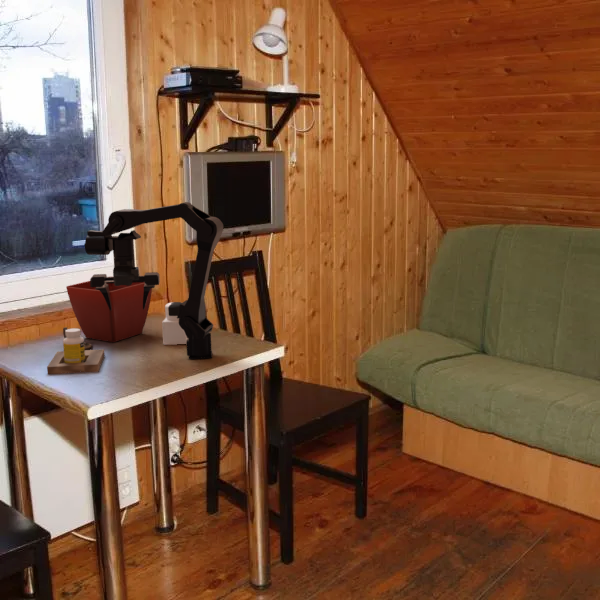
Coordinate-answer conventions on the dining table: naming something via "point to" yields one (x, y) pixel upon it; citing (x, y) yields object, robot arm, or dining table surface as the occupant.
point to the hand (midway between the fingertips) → (127, 309)
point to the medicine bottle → (172, 326)
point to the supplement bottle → (73, 346)
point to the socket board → (90, 365)
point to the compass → (86, 345)
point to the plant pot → (97, 316)
